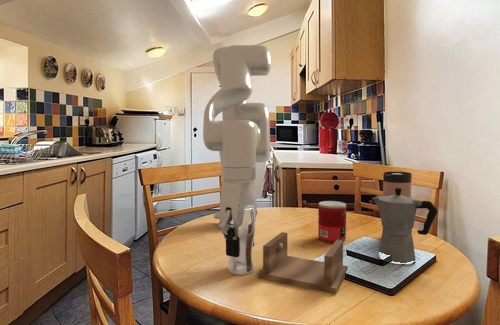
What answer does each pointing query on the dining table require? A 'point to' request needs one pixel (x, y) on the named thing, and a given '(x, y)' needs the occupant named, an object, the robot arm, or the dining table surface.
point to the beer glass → (244, 245)
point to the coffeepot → (401, 224)
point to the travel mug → (397, 183)
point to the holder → (303, 266)
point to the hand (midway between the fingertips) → (240, 250)
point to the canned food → (331, 221)
